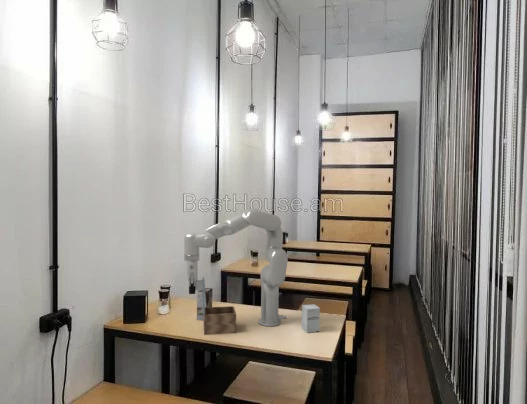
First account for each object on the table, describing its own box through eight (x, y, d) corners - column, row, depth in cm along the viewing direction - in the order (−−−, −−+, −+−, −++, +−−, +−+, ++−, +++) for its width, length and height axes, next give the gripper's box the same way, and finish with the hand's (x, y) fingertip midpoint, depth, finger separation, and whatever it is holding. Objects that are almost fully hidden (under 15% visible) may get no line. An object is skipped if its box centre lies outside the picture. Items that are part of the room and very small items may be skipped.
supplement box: (306, 333, 188) (306, 308, 187) (301, 328, 195) (301, 304, 195) (319, 332, 190) (320, 307, 189) (314, 327, 197) (314, 303, 196)
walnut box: (233, 324, 199) (233, 306, 198) (235, 332, 187) (236, 313, 187) (203, 326, 196) (203, 307, 195) (204, 334, 184) (204, 315, 184)
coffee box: (207, 321, 203) (207, 292, 203) (196, 320, 205) (196, 291, 204) (212, 315, 212) (213, 288, 212) (202, 314, 214) (202, 287, 213)
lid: (204, 277, 195) (189, 277, 194) (204, 283, 183) (188, 283, 181) (203, 307, 195) (188, 307, 194) (204, 314, 183) (188, 315, 182)
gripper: (199, 260, 180) (199, 297, 181) (199, 254, 196) (199, 288, 196) (184, 260, 179) (184, 298, 180) (184, 255, 194) (185, 289, 195)
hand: (192, 293), depth 188 cm, fingers closed
